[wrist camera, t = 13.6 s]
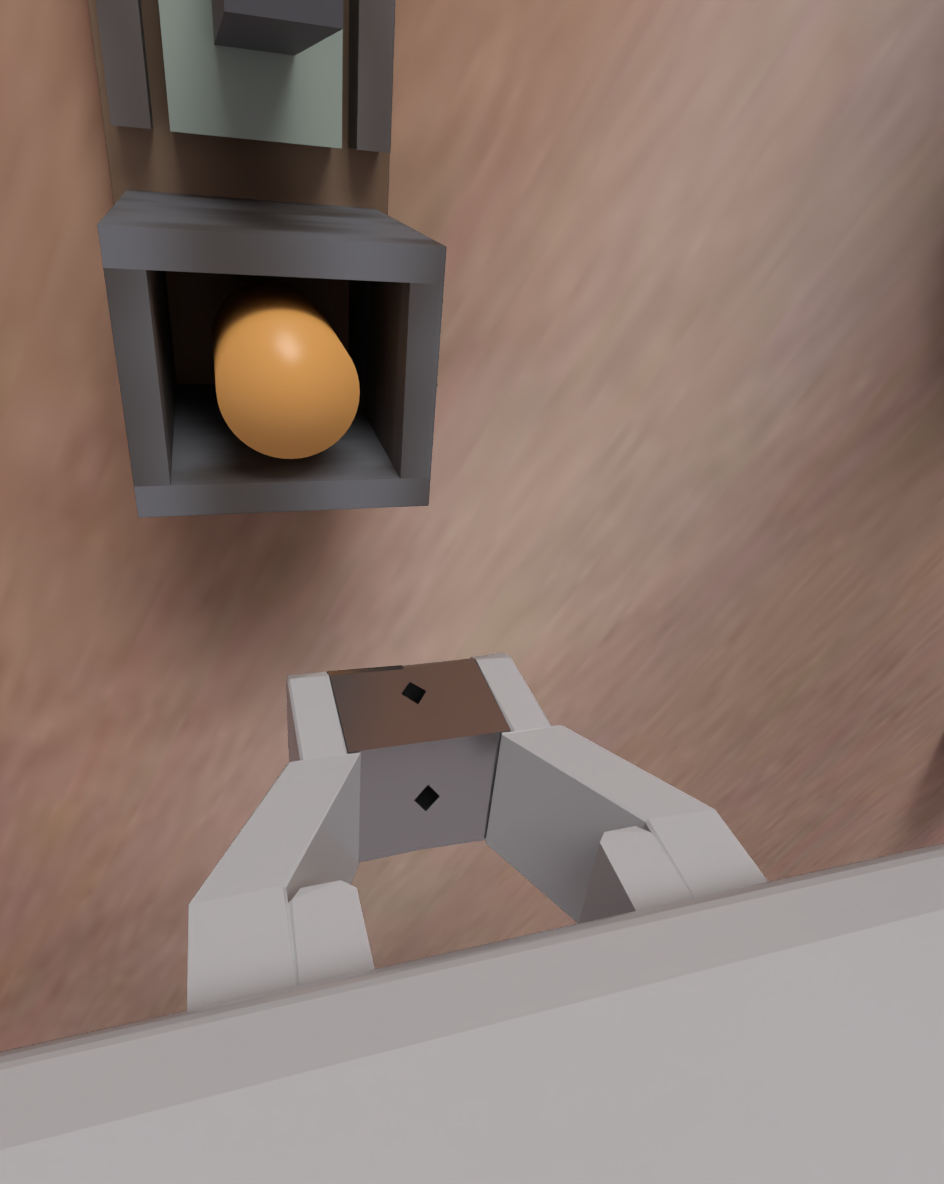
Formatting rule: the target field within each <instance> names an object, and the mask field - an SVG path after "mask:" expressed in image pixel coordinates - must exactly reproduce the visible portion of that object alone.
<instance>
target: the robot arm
mask: <svg viewBox="0 0 944 1184" xmlns="http://www.w3.org/2000/svg"><path fill="white" fill-rule="evenodd" d="M286 692H287V722H288V748H289V762H288V764H287V765H286V767H285V768H284V769H283V771H282V772H281V774H280V775H279V777H278V778H277V779H276V781H275V782H274V784H273V785H272V787H271V788H270V789H269V791H268V792H267V794H266V795H265V797H264V798H263V799H262V801H261V802H260V804H259V805H258V807H257V808H256V809H255V811H254V812H253V814H252V815H251V816H250V818H249V819H248V821H247V822H246V824H245V825H244V826H243V828H242V829H241V831H240V832H239V834H238V835H237V836H236V838H235V839H234V841H233V842H232V844H231V845H230V846H229V848H228V849H227V851H226V852H225V854H224V855H223V856H222V858H221V859H220V861H219V862H218V864H217V865H216V866H215V868H214V869H213V871H212V872H211V874H210V875H209V876H208V878H207V879H206V881H205V882H204V884H203V885H202V886H201V888H200V889H199V891H198V892H197V894H196V895H195V896H194V898H193V899H192V901H191V902H190V904H189V921H188V980H187V1010H186V1011H181V1012H177V1013H172V1014H168V1015H163V1016H159V1017H154V1018H150V1019H145V1020H141V1021H136V1022H132V1023H127V1024H123V1025H118V1026H114V1027H109V1028H105V1029H100V1030H96V1031H91V1032H87V1033H82V1034H78V1035H73V1036H69V1037H64V1038H60V1039H55V1040H51V1041H46V1042H41V1043H37V1044H32V1045H28V1046H23V1047H19V1048H14V1049H10V1050H5V1051H1V1052H0V1184H944V843H941V844H936V845H932V846H927V847H923V848H918V849H914V850H909V851H905V852H900V853H896V854H891V855H887V856H882V857H878V858H873V859H869V860H864V861H859V862H855V863H850V864H846V865H841V866H837V867H832V868H828V869H823V870H819V871H814V872H810V873H805V874H801V875H796V876H792V877H787V878H783V879H778V880H774V881H769V882H768V880H767V879H766V878H765V876H764V875H763V874H762V872H761V871H760V870H759V868H758V867H757V866H756V864H755V863H754V862H753V860H752V859H751V857H750V856H749V855H748V853H747V852H746V851H745V849H744V848H743V847H742V845H741V844H740V843H739V841H738V840H737V839H736V837H735V836H734V835H733V833H732V832H731V830H730V829H729V828H728V826H727V825H726V824H725V822H724V821H723V820H722V818H721V817H720V816H719V814H718V813H717V812H716V810H715V809H713V808H711V807H709V806H708V805H706V804H704V803H702V802H700V801H699V800H697V799H695V798H693V797H691V796H689V795H688V794H686V793H684V792H682V791H680V790H679V789H677V788H675V787H673V786H671V785H670V784H668V783H666V782H664V781H662V780H660V779H659V778H657V777H655V776H653V775H651V774H650V773H648V772H646V771H644V770H642V769H640V768H639V767H637V766H635V765H633V764H631V763H630V762H628V761H626V760H624V759H622V758H620V757H619V756H617V755H615V754H613V753H611V752H610V751H608V750H606V749H604V748H602V747H600V746H599V745H597V744H595V743H593V742H591V741H590V740H588V739H586V738H584V737H582V736H581V735H579V734H577V733H575V732H573V731H571V730H570V729H568V728H566V727H564V726H562V725H558V726H551V724H550V722H549V721H548V719H547V717H546V716H545V714H544V712H543V711H542V709H541V707H540V706H539V704H538V702H537V700H536V699H535V697H534V695H533V694H532V692H531V690H530V689H529V687H528V685H527V683H526V682H525V680H524V678H523V677H522V675H521V673H520V672H519V670H518V668H517V667H516V665H515V663H514V661H513V660H512V658H511V656H509V655H508V654H506V653H499V654H491V655H483V656H476V657H471V658H470V659H461V660H452V661H443V662H433V663H424V664H415V665H405V666H401V665H399V666H387V667H375V668H363V669H350V670H338V671H327V673H326V672H317V673H307V674H296V675H287V682H286ZM481 840H486V842H485V843H486V844H487V845H489V846H490V847H491V848H492V849H493V850H494V851H495V852H497V853H498V854H499V855H500V856H501V857H502V858H503V859H505V860H506V861H507V862H508V863H509V864H510V865H511V866H513V867H514V868H515V869H516V870H517V871H518V872H520V873H521V874H522V875H523V876H524V877H525V878H526V879H528V880H529V881H530V882H531V883H532V884H533V885H534V886H536V887H537V888H538V889H539V890H540V891H541V892H542V893H544V894H545V895H546V896H547V897H548V898H549V899H551V900H552V901H553V902H554V903H555V904H556V905H557V906H559V907H560V908H561V909H562V910H563V911H564V912H565V913H567V914H568V915H569V916H570V917H571V918H572V919H573V920H575V921H576V922H577V923H578V924H574V925H570V926H565V927H561V928H556V929H552V930H547V931H543V932H538V933H534V934H529V935H525V936H520V937H516V938H511V939H507V940H502V941H498V942H493V943H489V944H484V945H480V946H475V947H471V948H466V949H462V950H457V951H452V952H448V953H443V954H439V955H434V956H430V957H425V958H421V959H416V960H412V961H407V962H403V963H398V964H394V965H389V966H385V967H380V968H376V969H374V964H373V960H372V955H371V950H370V946H369V941H368V937H367V932H366V928H365V923H364V919H363V914H362V909H361V905H360V900H359V896H358V891H357V888H356V887H354V886H352V885H351V883H352V880H353V878H354V876H355V873H356V871H357V869H358V862H363V861H368V860H373V859H377V858H382V857H387V856H392V855H397V854H402V853H407V852H411V851H416V850H421V849H428V848H434V847H441V846H448V845H454V844H461V843H468V842H474V841H481Z"/></svg>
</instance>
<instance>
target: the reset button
mask: <svg viewBox="0 0 944 1184" xmlns="http://www.w3.org/2000/svg"><path fill="white" fill-rule="evenodd" d="M212 345H213V358H214V370H215V383H216V394H217V401H218V405H219V408H220V411H221V414H222V416H223V418H224V420H225V422H226V423H227V425H228V427H229V428H230V429H231V430H232V432H233V433H234V434H235V435H236V436H237V437H238V438H239V439H240V440H241V441H242V442H243V443H245V444H246V445H247V446H249V447H251V448H252V449H254V450H256V451H258V452H260V453H262V454H265V455H268V456H272V457H276V458H282V459H297V458H304V457H309V456H312V455H315V454H318V453H320V452H322V451H324V450H326V449H328V448H329V447H331V446H332V445H334V444H335V443H336V442H337V441H338V440H339V439H340V438H341V437H342V436H343V435H344V434H345V433H346V431H347V430H348V428H349V427H350V425H351V424H352V422H353V420H354V417H355V415H356V412H357V408H358V404H359V396H360V388H359V380H358V375H357V371H356V368H355V366H354V363H353V361H352V359H351V357H350V356H349V354H348V353H347V351H346V350H345V348H344V346H343V345H342V343H341V342H340V340H339V339H338V337H337V335H336V334H335V332H334V331H333V329H332V328H331V326H330V324H329V323H328V321H327V320H326V318H325V317H324V315H323V313H322V312H321V310H320V309H319V307H318V306H317V305H316V303H315V302H314V301H313V300H312V299H311V298H310V297H309V296H308V295H307V294H305V293H304V292H302V291H301V290H299V289H298V288H296V287H294V286H291V285H289V284H286V283H283V282H279V281H270V280H269V281H257V282H252V283H249V284H246V285H244V286H242V287H240V288H238V289H237V290H235V291H234V292H232V293H231V294H230V295H229V296H228V297H227V298H226V299H225V300H224V302H223V303H222V304H221V306H220V308H219V309H218V311H217V314H216V316H215V319H214V323H213V328H212Z"/></svg>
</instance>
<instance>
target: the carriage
mask: <svg viewBox="0 0 944 1184" xmlns="http://www.w3.org/2000/svg"><path fill="white" fill-rule="evenodd" d="M158 3H159V14H160V25H161V36H162V47H163V58H164V69H165V79H166V90H167V101H168V112H169V123H170V131H171V132H181V133H192V134H202V135H212V136H222V137H232V138H242V139H252V140H262V141H272V142H282V143H292V144H302V145H312V146H322V147H332V148H342V51H343V0H158Z"/></svg>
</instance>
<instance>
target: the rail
mask: <svg viewBox="0 0 944 1184" xmlns="http://www.w3.org/2000/svg"><path fill="white" fill-rule="evenodd" d="M88 6H89V14H90V22H91V29H92V37H93V45H94V53H95V60H96V68H97V76H98V84H99V91H100V99H101V107H102V115H103V123H104V130H105V138H106V146H107V154H108V161H109V169H110V177H111V185H112V192H113V200H114V206H113V207H112V208H111V209H110V210H109V212H108V213H107V214H106V215H105V216H104V217H103V219H102V220H101V221H100V222H99V223H98V224H97V226H98V233H99V241H100V248H101V255H102V262H103V269H104V276H105V283H106V290H107V297H108V305H109V312H110V319H111V326H112V333H113V340H114V347H115V354H116V361H117V369H118V376H119V383H120V390H121V397H122V404H123V411H124V418H125V425H126V433H127V440H128V447H129V454H130V461H131V468H132V475H133V482H134V489H135V497H136V504H137V511H138V518H139V517H164V516H188V515H212V514H237V513H261V512H286V511H310V510H334V509H359V508H383V507H407V506H428V504H429V490H430V475H431V461H432V447H433V432H434V418H435V404H436V389H437V375H438V361H439V346H440V332H441V318H442V303H443V289H444V275H445V260H446V246H444V245H442V244H440V243H438V242H436V241H434V240H433V239H431V238H429V237H427V236H425V235H423V234H421V233H419V232H418V231H416V230H414V229H412V228H410V227H408V226H406V225H405V224H403V223H401V222H399V221H397V220H395V219H393V218H392V217H390V216H388V188H389V158H390V147H391V117H392V87H393V58H394V28H395V0H343V51H342V148H332V147H322V146H312V145H302V144H292V143H282V142H272V141H262V140H252V139H242V138H232V137H222V136H212V135H202V134H192V133H181V132H171V131H170V123H169V112H168V101H167V90H166V79H165V69H164V58H163V47H162V36H161V25H160V14H159V3H158V0H88ZM269 280H270V281H279V282H283V283H286V284H289V285H291V286H294V287H296V288H298V289H299V290H301V291H302V292H304V293H305V294H307V295H308V296H309V297H310V298H311V299H312V300H313V301H314V302H315V303H316V305H317V306H318V307H319V309H320V310H321V312H322V313H323V315H324V317H325V318H326V320H327V321H328V323H329V324H330V326H331V328H332V329H333V331H334V332H335V334H336V335H337V337H338V339H339V340H340V342H341V343H342V345H343V346H344V348H345V350H346V351H347V353H348V354H349V356H350V357H351V359H352V361H353V363H354V366H355V368H356V371H357V375H358V380H359V388H360V396H359V404H358V408H357V412H356V415H355V417H354V420H353V422H352V424H351V425H350V427H349V428H348V430H347V431H346V433H345V434H344V435H343V436H342V437H341V438H340V439H339V440H338V441H337V442H336V443H335V444H334V445H332V446H331V447H329V448H328V449H326V450H324V451H322V452H320V453H318V454H315V455H312V456H309V457H304V458H297V459H282V458H276V457H272V456H268V455H265V454H262V453H260V452H258V451H256V450H254V449H252V448H251V447H249V446H247V445H246V444H245V443H243V442H242V441H241V440H240V439H239V438H238V437H237V436H236V435H235V434H234V433H233V432H232V430H231V429H230V428H229V427H228V425H227V423H226V422H225V420H224V418H223V416H222V414H221V411H220V408H219V405H218V401H217V394H216V383H215V370H214V358H213V345H212V328H213V323H214V319H215V316H216V314H217V311H218V309H219V308H220V306H221V304H222V303H223V302H224V300H225V299H226V298H227V297H228V296H229V295H230V294H231V293H232V292H234V291H235V290H237V289H238V288H240V287H242V286H244V285H246V284H249V283H252V282H257V281H269Z"/></svg>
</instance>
